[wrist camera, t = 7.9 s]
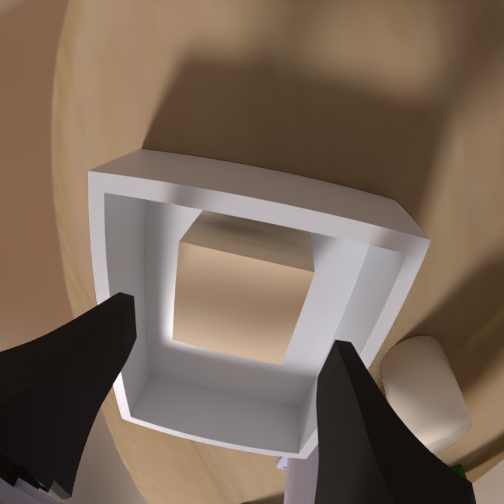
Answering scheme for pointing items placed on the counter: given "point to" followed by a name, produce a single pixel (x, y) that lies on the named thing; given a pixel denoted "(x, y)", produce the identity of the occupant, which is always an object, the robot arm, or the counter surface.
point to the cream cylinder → (425, 392)
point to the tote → (311, 317)
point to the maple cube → (241, 285)
